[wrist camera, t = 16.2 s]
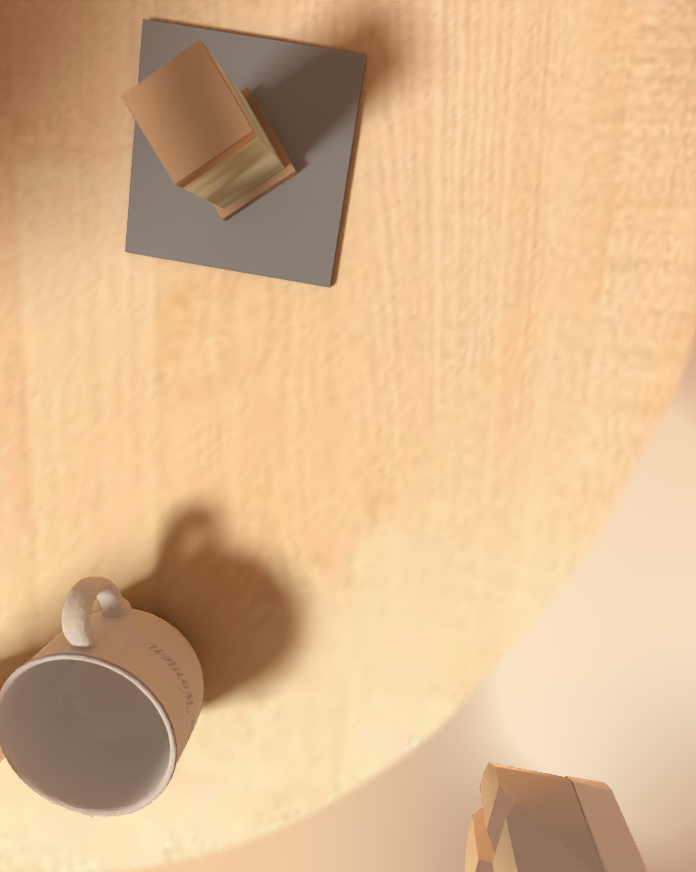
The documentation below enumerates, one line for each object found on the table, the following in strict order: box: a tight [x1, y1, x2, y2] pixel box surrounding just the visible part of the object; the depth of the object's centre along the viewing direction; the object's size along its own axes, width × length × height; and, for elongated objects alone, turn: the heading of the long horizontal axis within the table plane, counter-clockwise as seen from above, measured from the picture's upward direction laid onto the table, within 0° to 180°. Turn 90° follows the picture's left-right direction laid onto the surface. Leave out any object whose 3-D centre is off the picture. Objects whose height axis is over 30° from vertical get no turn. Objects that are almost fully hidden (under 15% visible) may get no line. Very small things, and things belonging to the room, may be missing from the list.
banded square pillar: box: [121, 39, 298, 221], centre depth 29 cm, size 5×5×8 cm
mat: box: [125, 19, 366, 287], centre depth 34 cm, size 12×12×1 cm
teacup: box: [0, 577, 204, 817], centre depth 37 cm, size 14×11×8 cm
